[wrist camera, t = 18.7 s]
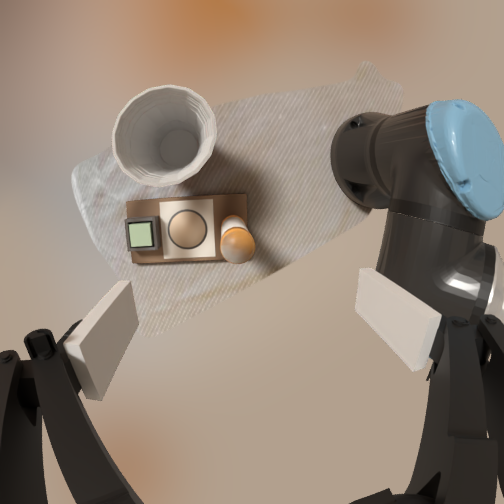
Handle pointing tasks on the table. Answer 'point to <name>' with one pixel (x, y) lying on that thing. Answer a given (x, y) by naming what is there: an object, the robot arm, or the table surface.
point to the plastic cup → (164, 135)
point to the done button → (141, 234)
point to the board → (183, 226)
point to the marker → (236, 240)
